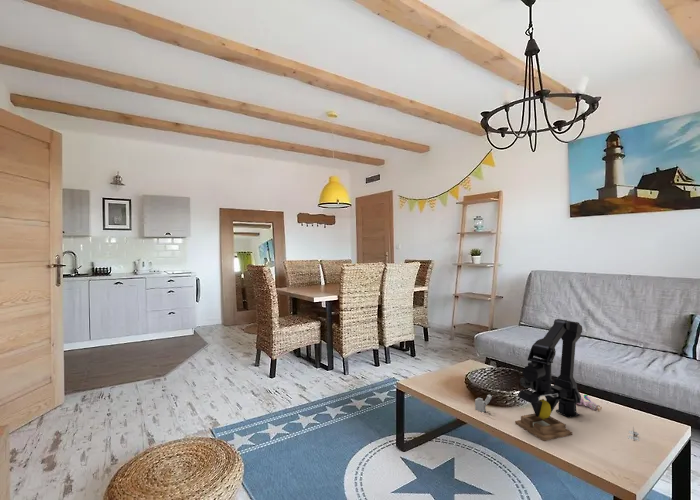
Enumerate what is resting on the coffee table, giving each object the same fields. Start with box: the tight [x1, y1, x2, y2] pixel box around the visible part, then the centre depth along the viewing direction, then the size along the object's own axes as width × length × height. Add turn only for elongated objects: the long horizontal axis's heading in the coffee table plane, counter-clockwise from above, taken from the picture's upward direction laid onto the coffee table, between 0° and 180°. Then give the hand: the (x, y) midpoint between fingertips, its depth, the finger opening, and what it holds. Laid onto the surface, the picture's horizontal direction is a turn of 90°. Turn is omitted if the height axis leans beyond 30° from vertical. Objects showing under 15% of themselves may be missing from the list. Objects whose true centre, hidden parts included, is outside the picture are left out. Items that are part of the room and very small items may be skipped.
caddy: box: [514, 412, 573, 442], centre depth 141 cm, size 14×14×4 cm
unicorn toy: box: [576, 394, 603, 412], centre depth 162 cm, size 6×6×15 cm
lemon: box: [539, 398, 552, 420], centre depth 141 cm, size 6×6×8 cm
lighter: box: [474, 393, 493, 413], centre depth 156 cm, size 7×2×8 cm, turn 42°
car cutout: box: [627, 426, 640, 442], centre depth 138 cm, size 15×7×4 cm, turn 140°
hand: (543, 415), depth 141 cm, fingers closed on lemon, 5 cm apart
